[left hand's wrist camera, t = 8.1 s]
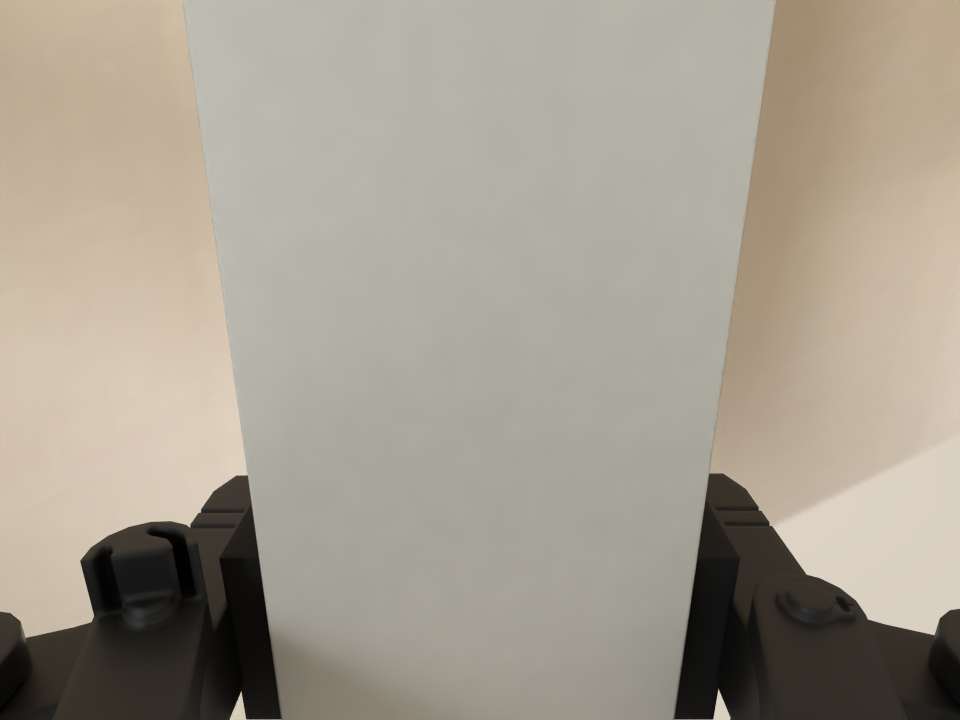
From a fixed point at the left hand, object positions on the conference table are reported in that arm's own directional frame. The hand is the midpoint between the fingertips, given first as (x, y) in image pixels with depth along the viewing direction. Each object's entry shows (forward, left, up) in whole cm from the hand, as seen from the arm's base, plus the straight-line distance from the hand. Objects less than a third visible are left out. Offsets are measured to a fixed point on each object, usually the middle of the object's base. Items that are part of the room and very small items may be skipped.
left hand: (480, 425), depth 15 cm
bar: (+18, +13, -1) cm, 23 cm away
